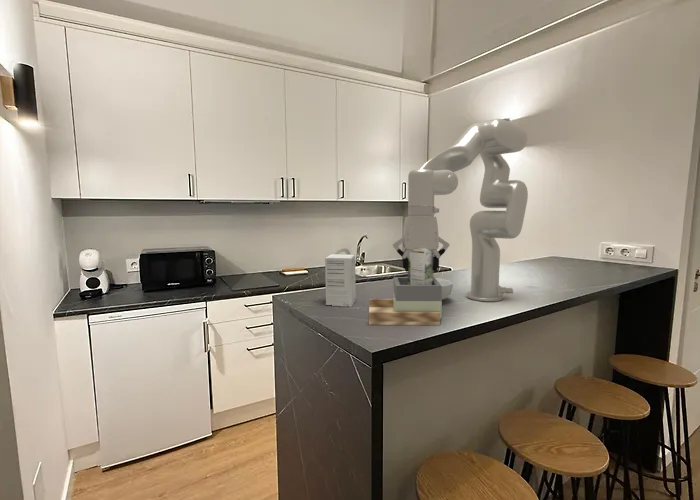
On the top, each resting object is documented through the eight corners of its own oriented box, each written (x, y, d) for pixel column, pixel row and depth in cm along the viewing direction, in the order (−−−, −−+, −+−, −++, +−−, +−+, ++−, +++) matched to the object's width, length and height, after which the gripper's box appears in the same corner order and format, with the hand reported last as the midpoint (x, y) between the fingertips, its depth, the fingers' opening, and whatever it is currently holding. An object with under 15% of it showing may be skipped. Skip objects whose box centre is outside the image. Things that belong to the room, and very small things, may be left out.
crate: (433, 306, 117) (434, 277, 116) (441, 318, 104) (442, 285, 103) (393, 306, 118) (393, 277, 116) (395, 318, 105) (395, 285, 104)
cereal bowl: (454, 307, 120) (454, 286, 120) (403, 305, 124) (403, 285, 123) (450, 295, 137) (450, 277, 136) (405, 294, 140) (406, 276, 139)
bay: (430, 309, 118) (430, 298, 118) (439, 325, 102) (439, 313, 102) (369, 309, 120) (369, 298, 119) (368, 324, 104) (368, 312, 103)
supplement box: (331, 299, 134) (330, 253, 132) (356, 299, 132) (355, 254, 130) (325, 306, 124) (324, 257, 122) (351, 307, 123) (351, 257, 121)
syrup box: (416, 291, 114) (416, 246, 112) (433, 294, 110) (434, 246, 109) (407, 295, 110) (407, 247, 108) (425, 298, 106) (424, 248, 104)
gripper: (448, 211, 110) (447, 268, 112) (390, 212, 111) (391, 268, 114) (453, 212, 103) (452, 272, 105) (392, 213, 104) (392, 273, 106)
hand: (420, 270), depth 109 cm, fingers closed on syrup box, 8 cm apart
